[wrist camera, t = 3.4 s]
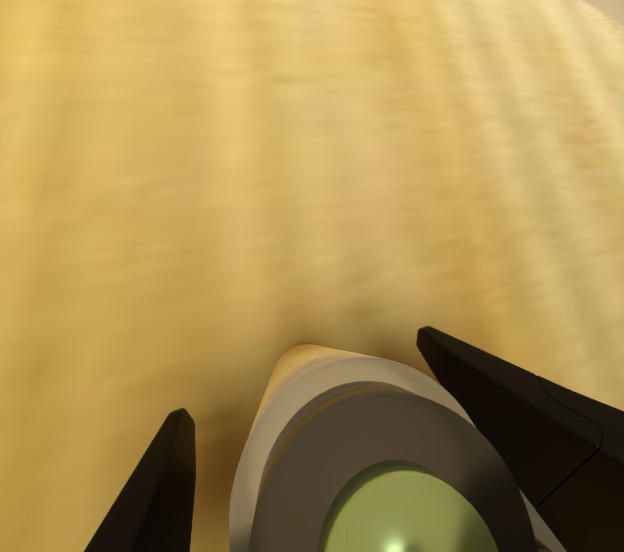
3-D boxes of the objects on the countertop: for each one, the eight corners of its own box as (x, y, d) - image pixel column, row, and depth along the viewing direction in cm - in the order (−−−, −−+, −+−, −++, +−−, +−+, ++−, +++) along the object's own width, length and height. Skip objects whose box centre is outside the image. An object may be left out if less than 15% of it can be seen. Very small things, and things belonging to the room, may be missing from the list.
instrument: (354, 368, 16) (647, 495, 3) (317, 434, 15) (541, 1096, 2) (297, 330, 16) (346, 297, 3) (257, 392, 15) (84, 723, 2)
